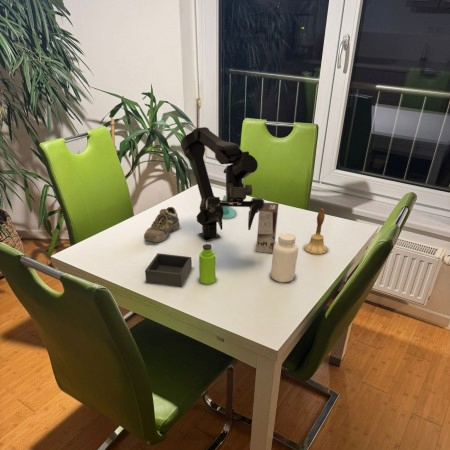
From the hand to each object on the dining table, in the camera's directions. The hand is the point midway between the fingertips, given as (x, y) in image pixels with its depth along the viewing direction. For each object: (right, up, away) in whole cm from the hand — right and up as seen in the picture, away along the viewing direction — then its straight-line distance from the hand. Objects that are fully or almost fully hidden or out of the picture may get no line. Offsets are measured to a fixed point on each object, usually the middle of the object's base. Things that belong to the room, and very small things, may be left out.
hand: (235, 229), depth 134 cm
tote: (-22, -15, +4) cm, 27 cm away
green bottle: (-9, -16, +2) cm, 19 cm away
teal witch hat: (-6, +17, +52) cm, 55 cm away
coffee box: (+12, -3, +22) cm, 26 cm away
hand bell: (+31, -4, +22) cm, 38 cm away
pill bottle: (+16, -15, +4) cm, 22 cm away
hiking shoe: (-28, +3, +30) cm, 42 cm away
